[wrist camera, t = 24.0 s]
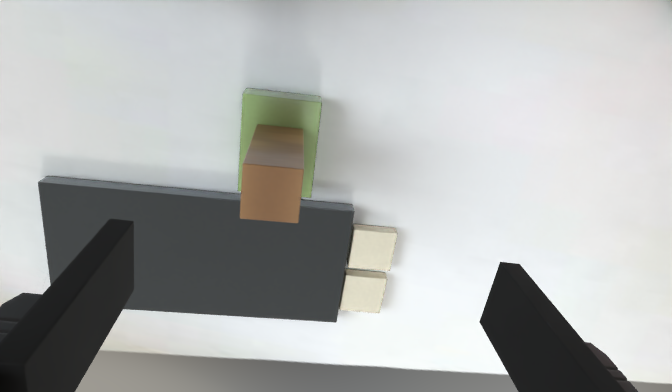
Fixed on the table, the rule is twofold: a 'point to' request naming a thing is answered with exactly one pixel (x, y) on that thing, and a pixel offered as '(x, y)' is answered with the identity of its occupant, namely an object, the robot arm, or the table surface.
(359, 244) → the eraser
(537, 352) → the robot arm
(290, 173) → the scrub brush
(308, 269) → the slate
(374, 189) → the table surface
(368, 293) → the eraser
